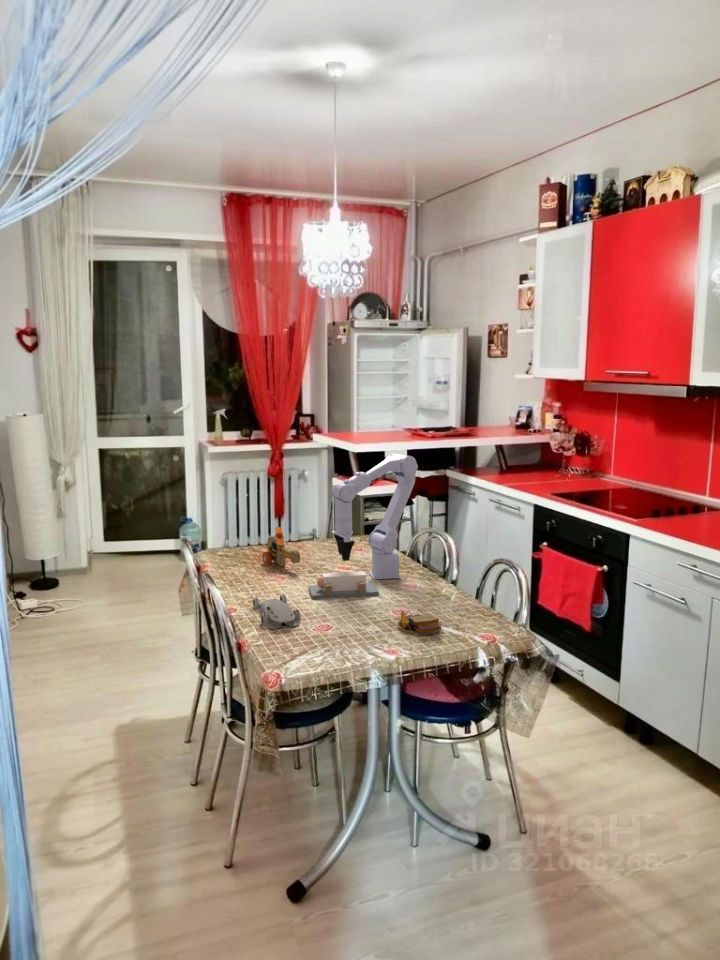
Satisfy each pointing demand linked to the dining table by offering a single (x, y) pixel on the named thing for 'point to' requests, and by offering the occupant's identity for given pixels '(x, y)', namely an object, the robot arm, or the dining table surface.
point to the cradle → (363, 590)
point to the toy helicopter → (279, 550)
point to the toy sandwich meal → (418, 624)
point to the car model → (277, 613)
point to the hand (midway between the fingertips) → (344, 557)
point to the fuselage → (342, 580)
